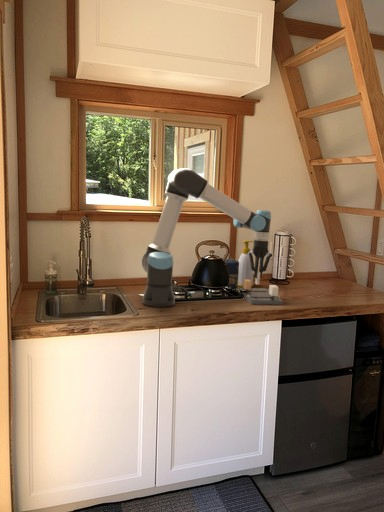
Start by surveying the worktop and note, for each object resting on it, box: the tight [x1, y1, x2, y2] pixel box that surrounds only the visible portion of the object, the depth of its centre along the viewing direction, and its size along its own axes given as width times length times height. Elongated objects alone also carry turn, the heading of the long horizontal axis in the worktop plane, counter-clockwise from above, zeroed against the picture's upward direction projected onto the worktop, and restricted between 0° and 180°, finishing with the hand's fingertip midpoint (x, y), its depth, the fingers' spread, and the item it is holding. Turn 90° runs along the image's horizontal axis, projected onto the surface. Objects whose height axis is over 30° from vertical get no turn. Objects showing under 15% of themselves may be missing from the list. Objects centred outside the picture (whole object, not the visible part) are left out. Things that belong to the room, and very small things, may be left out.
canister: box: [224, 258, 239, 289], centre depth 234 cm, size 10×10×18 cm
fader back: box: [242, 279, 252, 290], centre depth 229 cm, size 3×5×5 cm, turn 9°
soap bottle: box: [237, 239, 254, 288], centre depth 251 cm, size 11×12×26 cm
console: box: [237, 287, 284, 306], centre depth 225 cm, size 16×26×3 cm, turn 9°
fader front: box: [268, 284, 279, 297], centre depth 218 cm, size 3×5×5 cm, turn 9°
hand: (257, 283), depth 230 cm, fingers closed
